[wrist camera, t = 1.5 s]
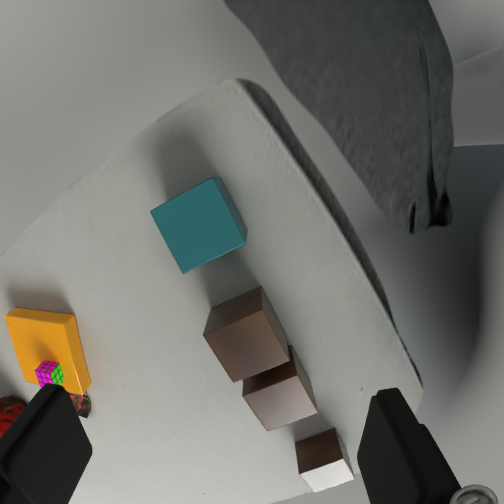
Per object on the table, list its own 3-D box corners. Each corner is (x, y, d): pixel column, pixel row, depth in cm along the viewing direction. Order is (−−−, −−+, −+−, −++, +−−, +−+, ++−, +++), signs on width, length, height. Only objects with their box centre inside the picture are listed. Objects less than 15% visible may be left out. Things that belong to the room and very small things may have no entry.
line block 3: (334, 427, 30) (343, 458, 25) (346, 449, 31) (355, 478, 26) (294, 442, 30) (298, 474, 26) (309, 463, 31) (314, 493, 27)
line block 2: (291, 344, 27) (297, 374, 23) (310, 381, 28) (318, 413, 24) (243, 363, 28) (241, 395, 23) (265, 398, 29) (267, 431, 24)
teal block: (220, 176, 24) (213, 177, 19) (247, 230, 25) (246, 243, 20) (167, 204, 24) (149, 211, 20) (195, 256, 25) (182, 274, 21)
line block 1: (261, 285, 26) (262, 308, 21) (284, 331, 27) (290, 360, 22) (210, 308, 26) (202, 335, 22) (236, 352, 27) (233, 383, 23)
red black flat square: (91, 419, 30) (90, 421, 29) (54, 401, 29) (52, 404, 29) (92, 391, 29) (90, 393, 28) (52, 372, 28) (50, 375, 28)
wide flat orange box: (34, 371, 29) (16, 391, 24) (16, 306, 27) (-8, 323, 23) (91, 383, 29) (75, 407, 24) (75, 314, 27) (52, 334, 23)
